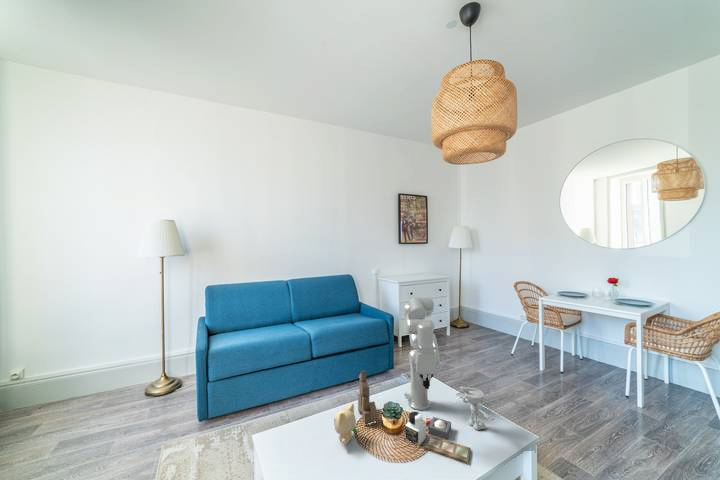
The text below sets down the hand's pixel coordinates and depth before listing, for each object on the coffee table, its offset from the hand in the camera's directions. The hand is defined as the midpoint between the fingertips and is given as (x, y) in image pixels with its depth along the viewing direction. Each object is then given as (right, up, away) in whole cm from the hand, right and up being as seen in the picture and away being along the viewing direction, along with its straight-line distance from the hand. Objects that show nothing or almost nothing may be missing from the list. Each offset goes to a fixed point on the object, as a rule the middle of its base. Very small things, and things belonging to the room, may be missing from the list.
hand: (426, 387), depth 135 cm
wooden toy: (-29, -24, +16) cm, 41 cm away
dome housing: (+8, -23, +3) cm, 25 cm away
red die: (+3, -24, +8) cm, 25 cm away
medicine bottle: (-6, -24, -2) cm, 24 cm away
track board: (+7, -23, -10) cm, 26 cm away
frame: (-6, -24, -2) cm, 24 cm away
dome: (+8, -23, +3) cm, 25 cm away
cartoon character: (+25, -23, +6) cm, 35 cm away
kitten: (-39, -24, -1) cm, 46 cm away
